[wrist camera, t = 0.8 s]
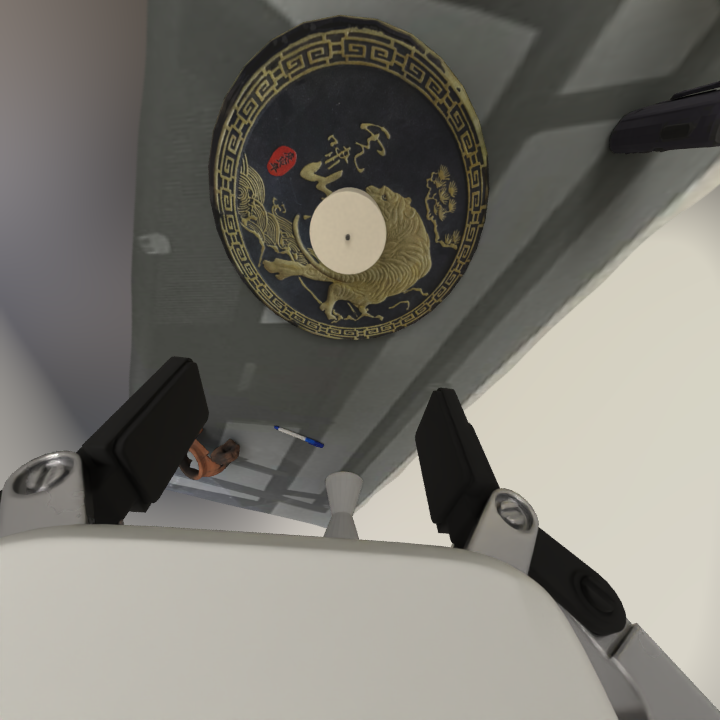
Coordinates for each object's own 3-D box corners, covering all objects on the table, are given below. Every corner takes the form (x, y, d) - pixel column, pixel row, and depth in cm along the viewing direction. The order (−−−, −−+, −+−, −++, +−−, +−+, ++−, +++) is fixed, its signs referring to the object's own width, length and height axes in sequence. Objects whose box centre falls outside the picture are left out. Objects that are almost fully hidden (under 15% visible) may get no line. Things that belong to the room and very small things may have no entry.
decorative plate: (135, 136, 25) (457, -106, 18) (148, 138, 27) (449, -84, 19) (303, 368, 41) (509, 291, 34) (305, 361, 43) (502, 285, 35)
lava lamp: (335, 466, 58) (312, 750, 30) (370, 478, 61) (380, 749, 32) (317, 486, 63) (282, 749, 34) (351, 496, 66) (344, 748, 37)
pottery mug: (221, 461, 58) (183, 486, 51) (205, 420, 57) (164, 440, 50) (259, 459, 53) (223, 487, 45) (243, 414, 51) (203, 435, 44)
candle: (346, 170, 26) (342, 169, 21) (395, 222, 29) (403, 234, 24) (305, 228, 30) (292, 241, 24) (353, 270, 32) (351, 291, 27)
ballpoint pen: (325, 443, 54) (324, 447, 53) (322, 445, 54) (322, 449, 53) (275, 424, 51) (274, 428, 50) (273, 427, 51) (272, 431, 50)
